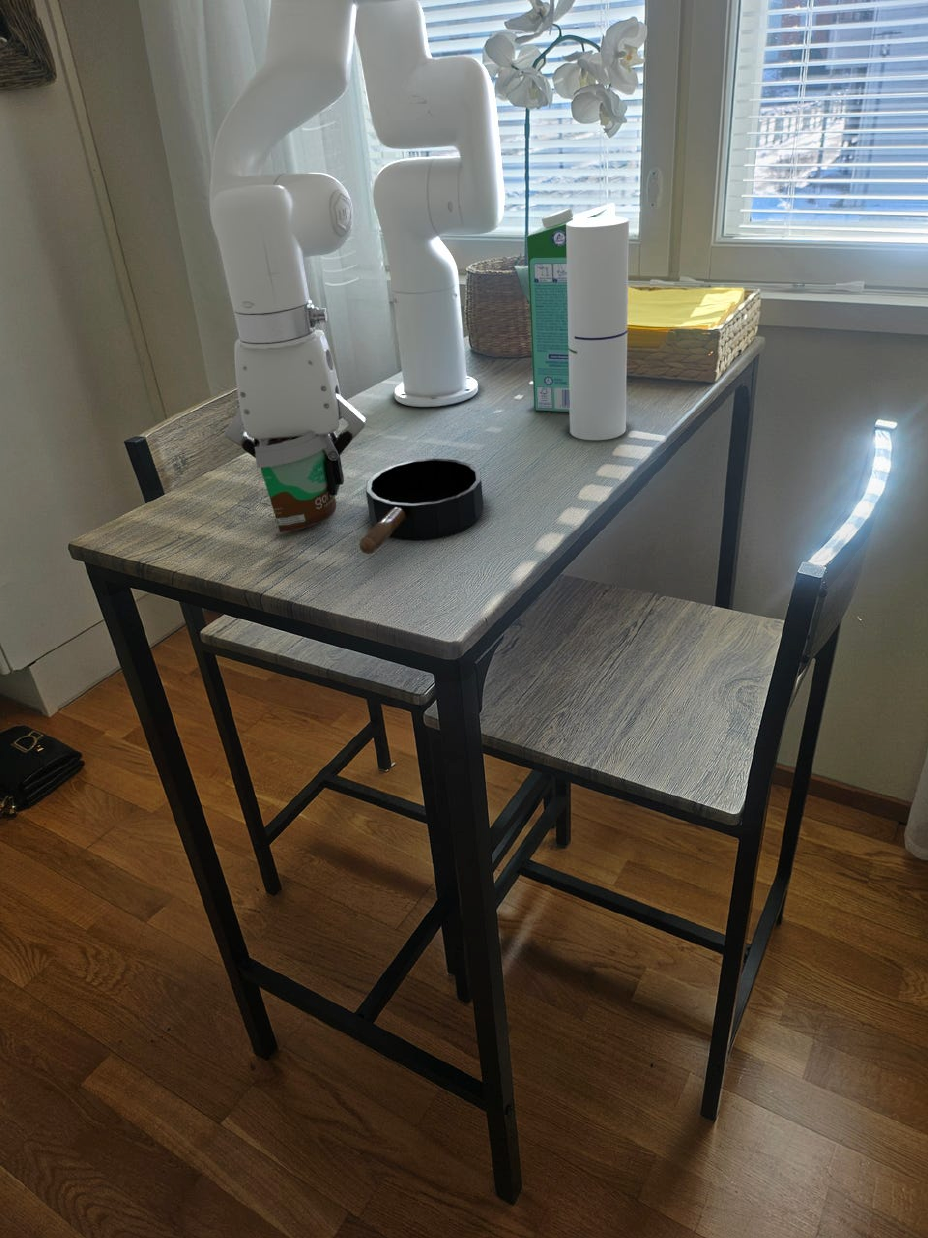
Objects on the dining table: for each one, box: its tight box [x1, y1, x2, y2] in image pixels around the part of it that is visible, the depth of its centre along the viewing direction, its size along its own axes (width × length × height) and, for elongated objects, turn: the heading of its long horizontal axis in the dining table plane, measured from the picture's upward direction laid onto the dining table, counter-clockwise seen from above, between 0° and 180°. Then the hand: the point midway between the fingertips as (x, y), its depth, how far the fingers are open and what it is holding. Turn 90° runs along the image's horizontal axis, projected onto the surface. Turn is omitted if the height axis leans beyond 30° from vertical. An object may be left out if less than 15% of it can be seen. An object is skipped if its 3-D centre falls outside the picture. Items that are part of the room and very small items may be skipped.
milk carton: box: [526, 203, 615, 413], centre depth 118 cm, size 9×9×25 cm
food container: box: [254, 431, 337, 533], centre depth 95 cm, size 12×6×10 cm, turn 172°
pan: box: [359, 458, 485, 555], centre depth 92 cm, size 21×12×4 cm, turn 159°
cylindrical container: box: [566, 215, 630, 441], centre depth 107 cm, size 7×7×25 cm
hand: (307, 490), depth 97 cm, fingers closed on food container, 5 cm apart
